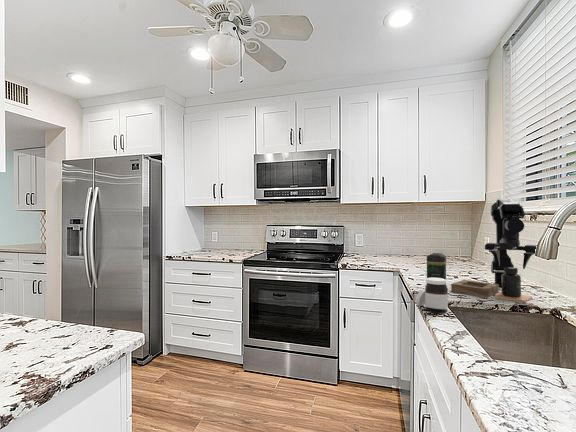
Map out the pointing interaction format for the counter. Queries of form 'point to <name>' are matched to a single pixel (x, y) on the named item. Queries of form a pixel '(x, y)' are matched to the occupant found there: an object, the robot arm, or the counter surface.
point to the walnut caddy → (475, 288)
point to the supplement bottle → (511, 282)
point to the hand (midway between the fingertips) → (511, 267)
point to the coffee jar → (436, 266)
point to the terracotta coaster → (521, 299)
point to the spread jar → (434, 295)
